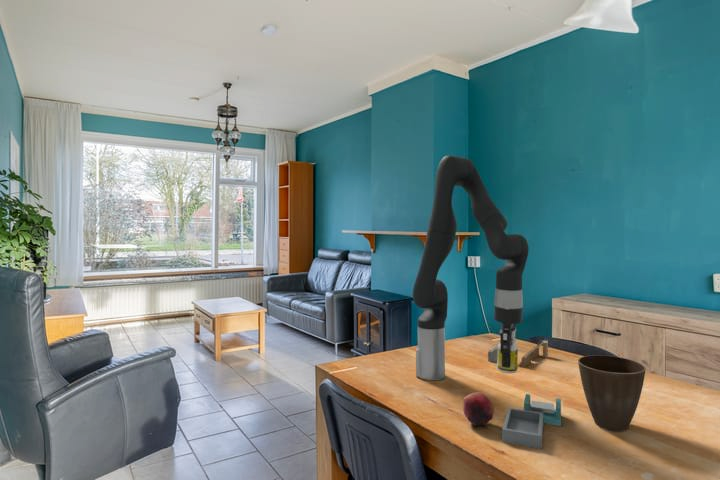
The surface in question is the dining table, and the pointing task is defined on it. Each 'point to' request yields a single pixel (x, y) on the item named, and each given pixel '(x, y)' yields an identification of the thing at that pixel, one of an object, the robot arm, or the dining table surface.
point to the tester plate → (542, 407)
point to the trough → (523, 428)
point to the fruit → (478, 408)
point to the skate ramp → (526, 358)
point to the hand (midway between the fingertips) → (507, 363)
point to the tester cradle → (547, 417)
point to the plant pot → (611, 389)
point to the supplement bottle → (512, 363)
